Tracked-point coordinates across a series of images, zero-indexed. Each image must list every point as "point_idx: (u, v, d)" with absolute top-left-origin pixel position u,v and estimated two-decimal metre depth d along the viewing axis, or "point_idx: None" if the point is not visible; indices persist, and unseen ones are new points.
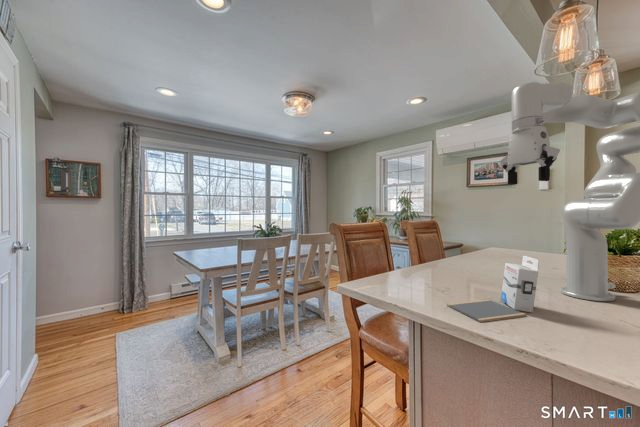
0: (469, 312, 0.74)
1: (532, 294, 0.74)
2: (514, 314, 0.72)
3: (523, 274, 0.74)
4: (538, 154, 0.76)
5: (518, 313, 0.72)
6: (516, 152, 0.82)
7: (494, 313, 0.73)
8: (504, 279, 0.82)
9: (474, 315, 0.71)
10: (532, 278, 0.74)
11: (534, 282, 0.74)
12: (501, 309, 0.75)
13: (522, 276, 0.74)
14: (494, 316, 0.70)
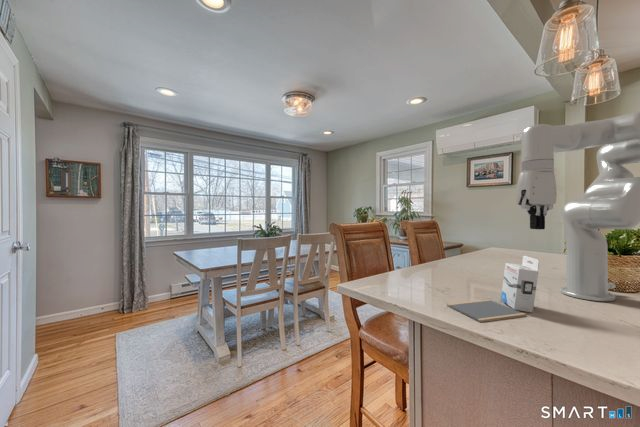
0: (469, 312, 0.74)
1: (532, 294, 0.74)
2: (514, 314, 0.72)
3: (524, 274, 0.74)
4: None
5: (518, 313, 0.72)
6: (541, 192, 0.77)
7: (494, 313, 0.73)
8: (504, 279, 0.82)
9: (474, 315, 0.71)
10: (532, 278, 0.74)
11: (534, 282, 0.73)
12: (501, 309, 0.75)
13: (522, 276, 0.74)
14: (494, 316, 0.70)
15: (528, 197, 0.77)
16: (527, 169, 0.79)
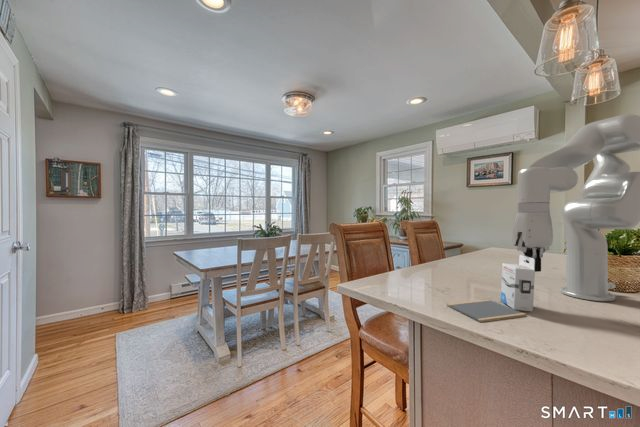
0: (469, 312, 0.74)
1: (530, 293, 0.74)
2: (514, 314, 0.72)
3: (521, 274, 0.74)
4: None
5: (518, 313, 0.72)
6: (537, 235, 0.77)
7: (494, 313, 0.73)
8: (502, 279, 0.82)
9: (474, 315, 0.71)
10: (529, 277, 0.74)
11: (532, 281, 0.74)
12: (501, 309, 0.75)
13: (519, 275, 0.74)
14: (494, 316, 0.70)
15: (524, 240, 0.77)
16: (523, 211, 0.79)
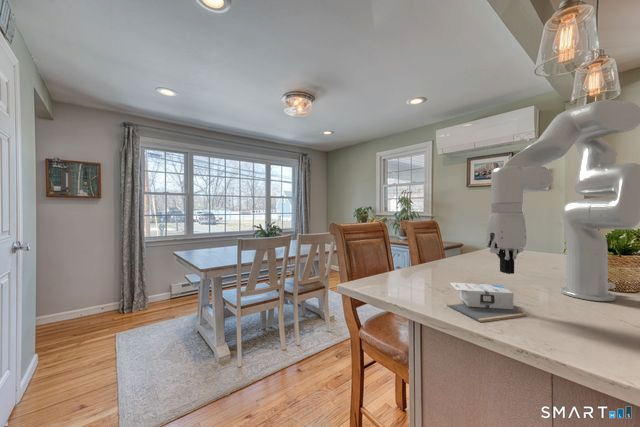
0: (469, 312, 0.74)
1: (493, 294, 0.76)
2: (514, 314, 0.72)
3: (474, 302, 0.77)
4: None
5: (518, 313, 0.72)
6: (510, 236, 0.75)
7: (494, 313, 0.73)
8: None
9: (474, 315, 0.71)
10: (476, 295, 0.77)
11: (480, 293, 0.76)
12: (501, 309, 0.75)
13: (475, 304, 0.77)
14: (494, 316, 0.70)
15: (496, 241, 0.75)
16: (496, 212, 0.76)
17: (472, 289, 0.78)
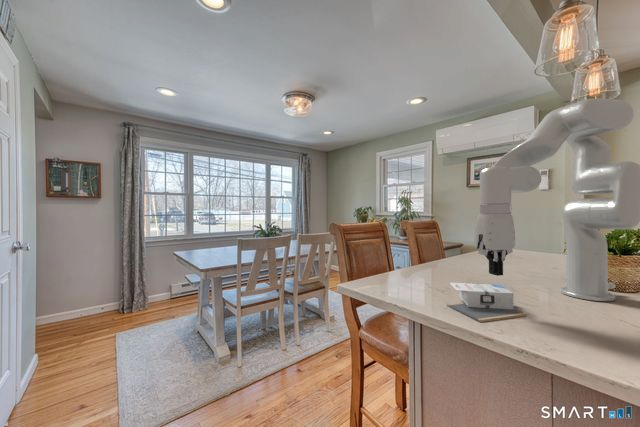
0: (469, 312, 0.74)
1: (493, 295, 0.76)
2: (514, 314, 0.72)
3: (474, 303, 0.77)
4: (514, 243, 0.76)
5: (518, 313, 0.72)
6: (498, 238, 0.74)
7: (494, 313, 0.73)
8: None
9: (474, 315, 0.71)
10: (476, 295, 0.77)
11: (480, 293, 0.76)
12: (501, 309, 0.75)
13: (475, 304, 0.77)
14: (494, 316, 0.70)
15: (485, 243, 0.74)
16: (484, 213, 0.76)
17: (472, 289, 0.78)
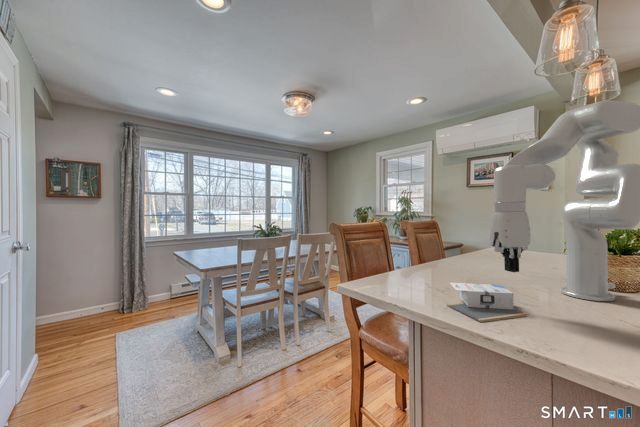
0: (469, 312, 0.74)
1: (493, 295, 0.76)
2: (514, 314, 0.72)
3: (474, 303, 0.77)
4: None
5: (518, 313, 0.72)
6: (514, 235, 0.75)
7: (494, 313, 0.73)
8: None
9: (474, 315, 0.71)
10: (476, 295, 0.77)
11: (480, 293, 0.76)
12: (501, 309, 0.75)
13: (475, 304, 0.77)
14: (494, 316, 0.70)
15: (501, 240, 0.75)
16: (499, 211, 0.77)
17: (472, 289, 0.78)
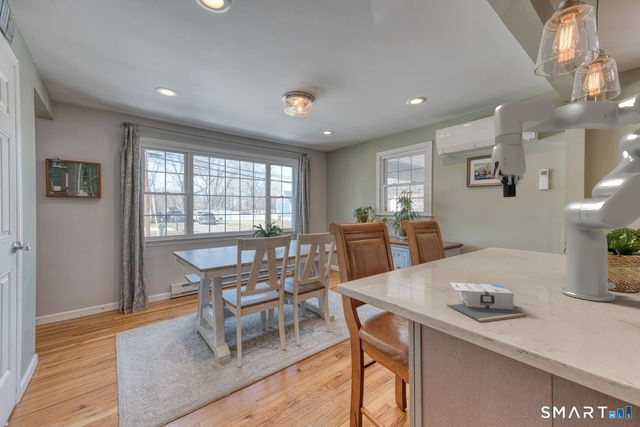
0: (469, 312, 0.74)
1: (493, 295, 0.76)
2: (514, 314, 0.72)
3: (474, 303, 0.77)
4: (525, 170, 0.88)
5: (518, 313, 0.72)
6: (512, 163, 0.86)
7: (494, 313, 0.73)
8: None
9: (474, 315, 0.71)
10: (476, 295, 0.77)
11: (480, 293, 0.76)
12: (501, 309, 0.75)
13: (475, 304, 0.77)
14: (494, 316, 0.70)
15: (500, 168, 0.86)
16: (499, 143, 0.88)
17: (472, 289, 0.78)
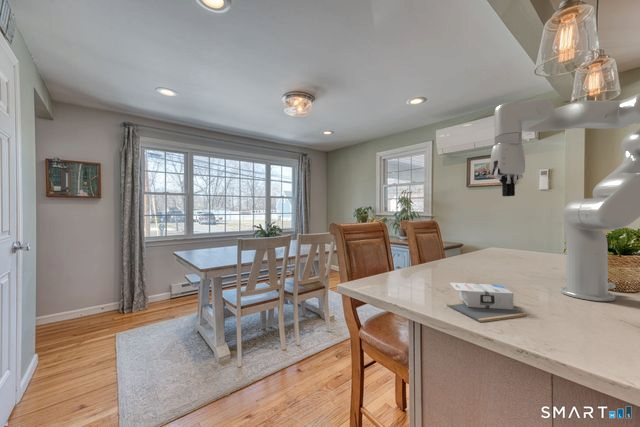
0: (469, 312, 0.74)
1: (493, 295, 0.76)
2: (514, 314, 0.72)
3: (474, 303, 0.77)
4: (524, 169, 0.89)
5: (518, 313, 0.72)
6: (511, 162, 0.87)
7: (494, 313, 0.73)
8: None
9: (474, 315, 0.71)
10: (476, 295, 0.77)
11: (480, 293, 0.76)
12: (501, 309, 0.75)
13: (475, 304, 0.77)
14: (494, 316, 0.70)
15: (499, 167, 0.87)
16: (499, 142, 0.89)
17: (472, 289, 0.78)
